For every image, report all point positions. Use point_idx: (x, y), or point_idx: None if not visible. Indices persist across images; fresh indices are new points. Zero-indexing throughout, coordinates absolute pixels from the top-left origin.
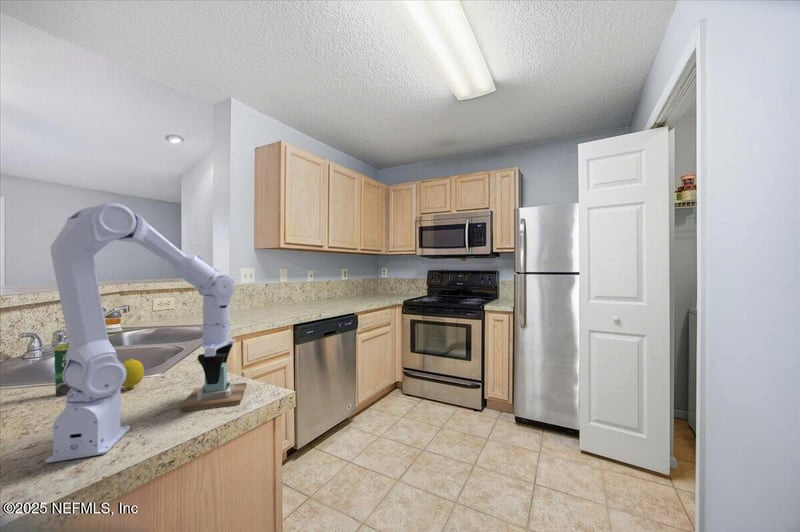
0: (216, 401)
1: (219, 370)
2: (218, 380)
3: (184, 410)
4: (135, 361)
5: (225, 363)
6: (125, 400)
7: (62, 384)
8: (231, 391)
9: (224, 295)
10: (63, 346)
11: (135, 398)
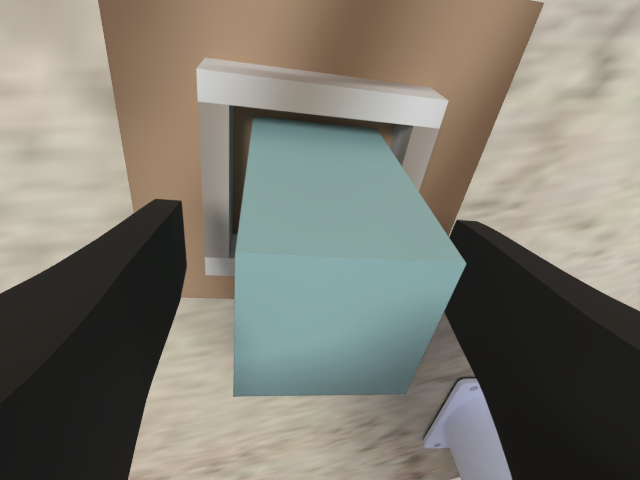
0: (451, 165)
1: (589, 289)
2: (489, 228)
3: None
4: None
5: (282, 262)
6: (176, 446)
7: None
8: (348, 79)
9: None
10: None
11: (163, 432)
